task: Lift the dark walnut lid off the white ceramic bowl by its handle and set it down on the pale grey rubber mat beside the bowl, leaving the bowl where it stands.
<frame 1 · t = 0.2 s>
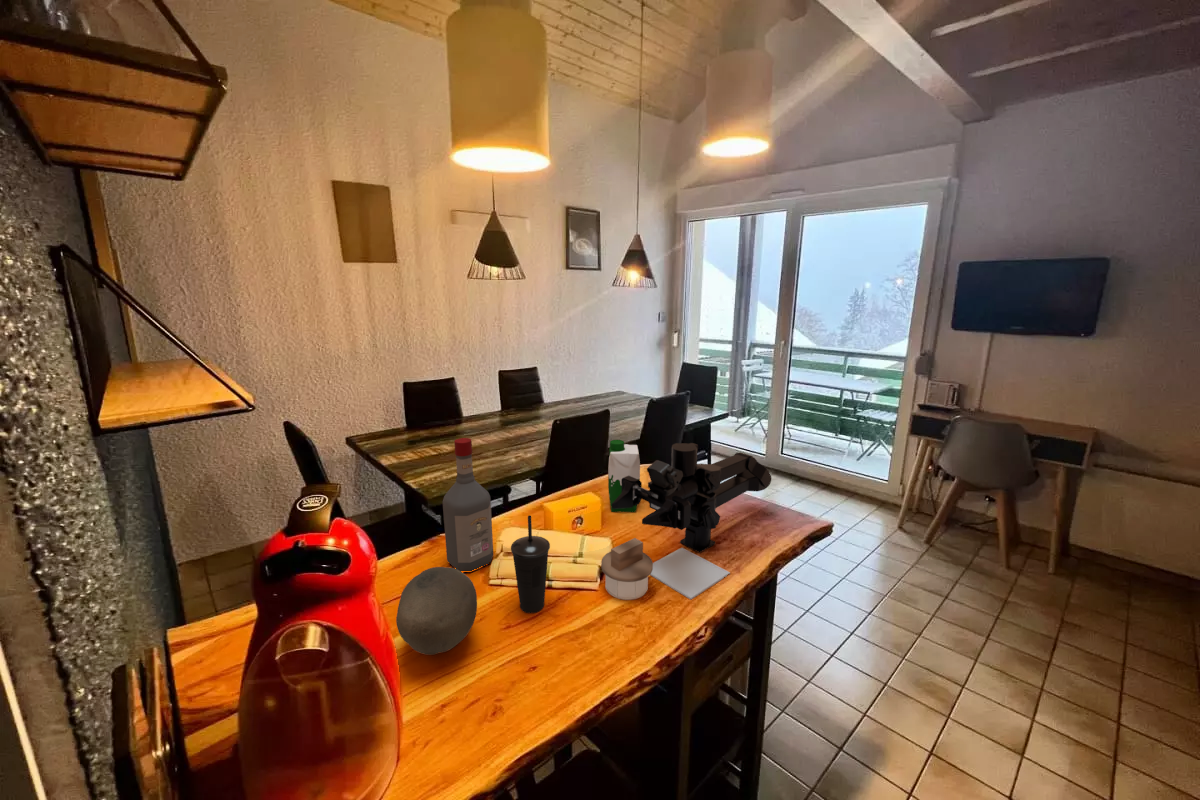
hand: (626, 513, 104), 17 cm above the counter, tool horizontal, fingers open, 9 cm apart
lid: (626, 566, 106), point 5 cm above the counter, touching bowl
drinking cup: (532, 606, 100), on the counter
bowl: (626, 587, 107), on the counter, touching lid
liquor: (470, 562, 116), on the counter
mat: (685, 572, 112), on the counter
dark grey round stone: (441, 648, 89), on the counter
milk carton: (623, 507, 144), on the counter
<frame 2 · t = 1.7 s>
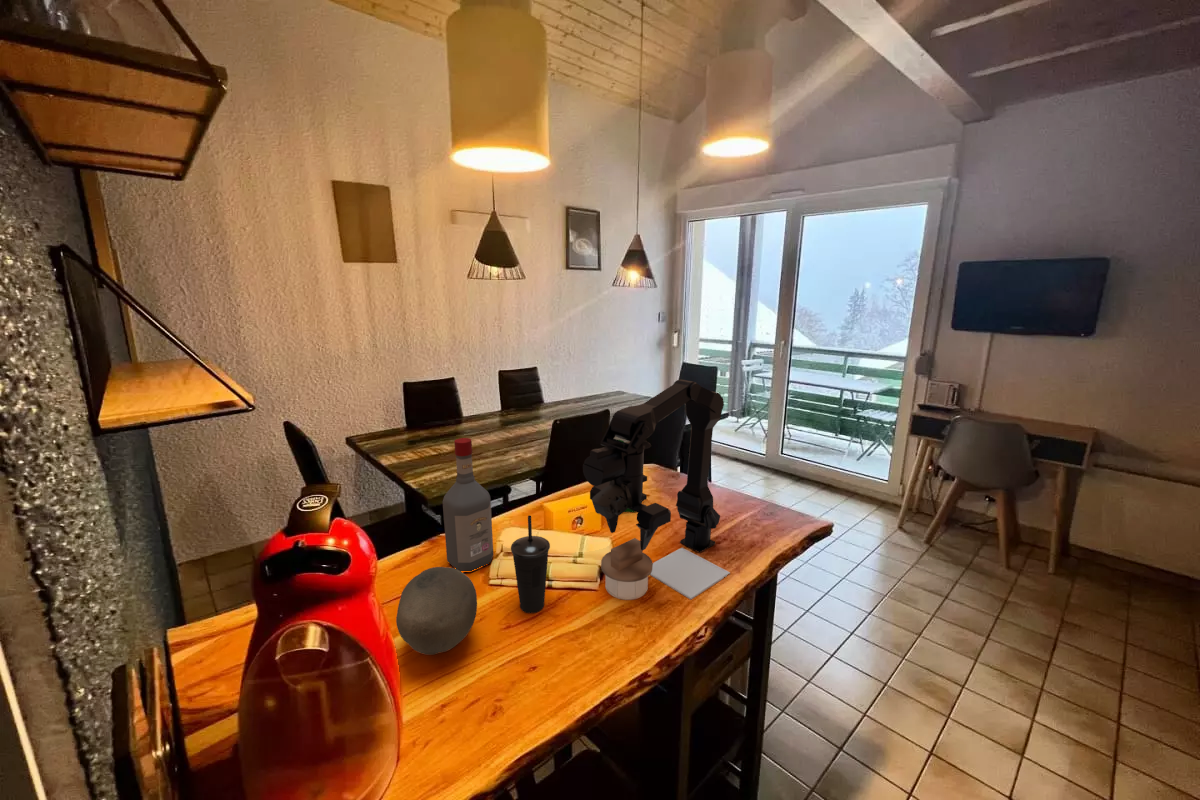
hand: (627, 540, 104), 11 cm above the counter, tool pointing down, fingers open, 9 cm apart
nothing on the counter moved.
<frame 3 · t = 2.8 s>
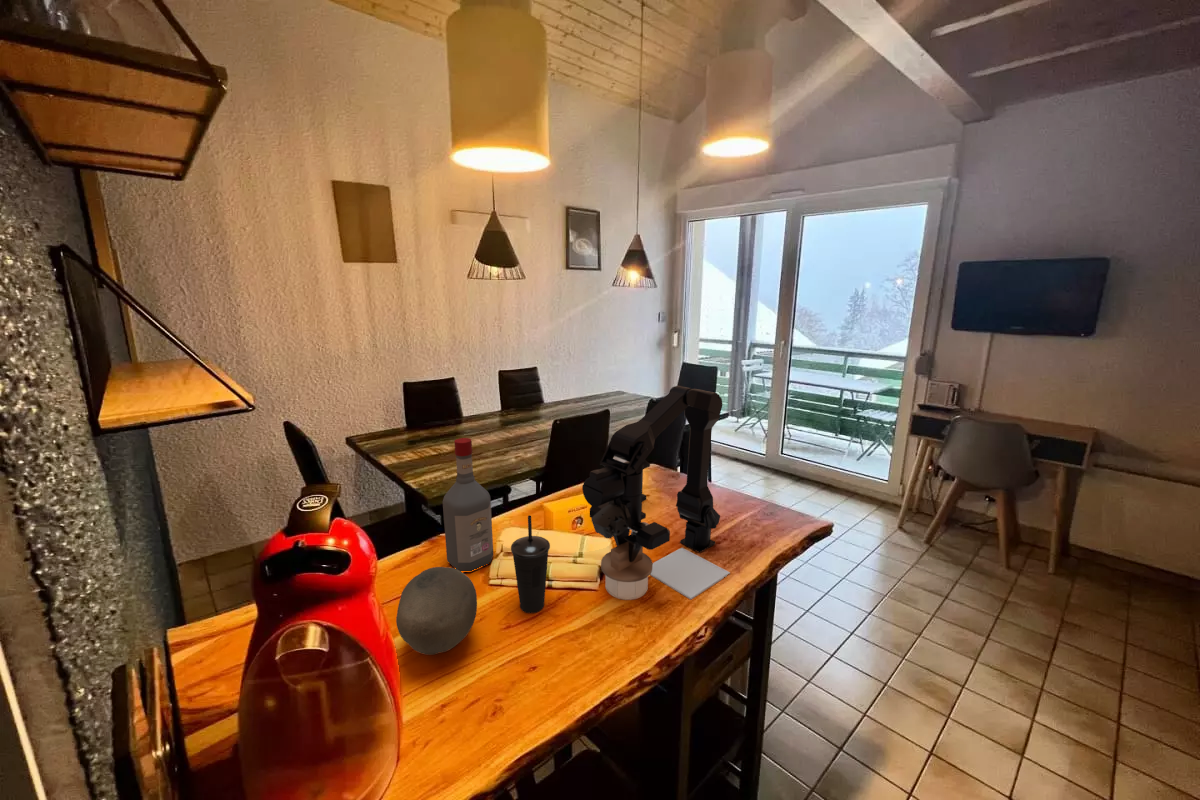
hand: (627, 558, 105), 7 cm above the counter, tool pointing down, fingers closed on lid, 2 cm apart
lid: (626, 566, 105), point 5 cm above the counter, touching bowl, gripper
everything else where it was.
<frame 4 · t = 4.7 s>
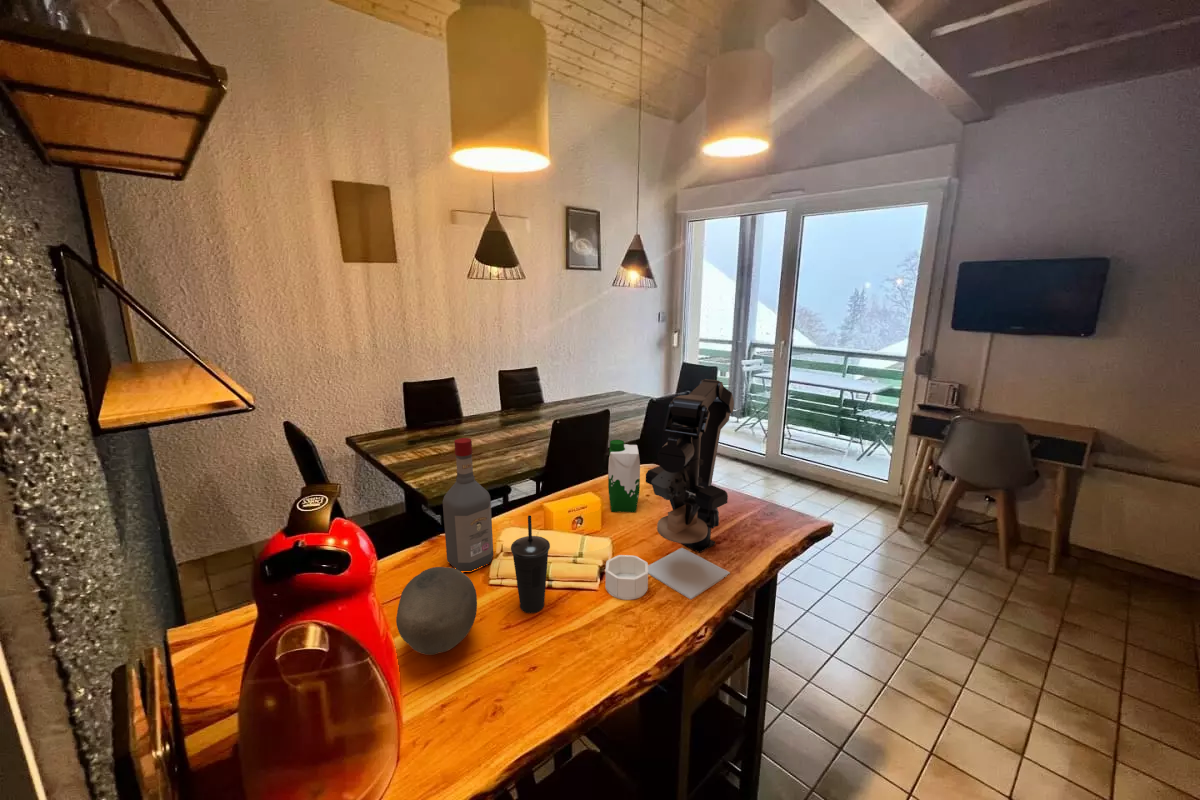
hand: (683, 521, 109), 13 cm above the counter, tool pointing down, fingers closed on lid, 2 cm apart
lid: (682, 530, 109), point 11 cm above the counter, touching gripper
bowl: (626, 587, 107), on the counter
everything else where it was.
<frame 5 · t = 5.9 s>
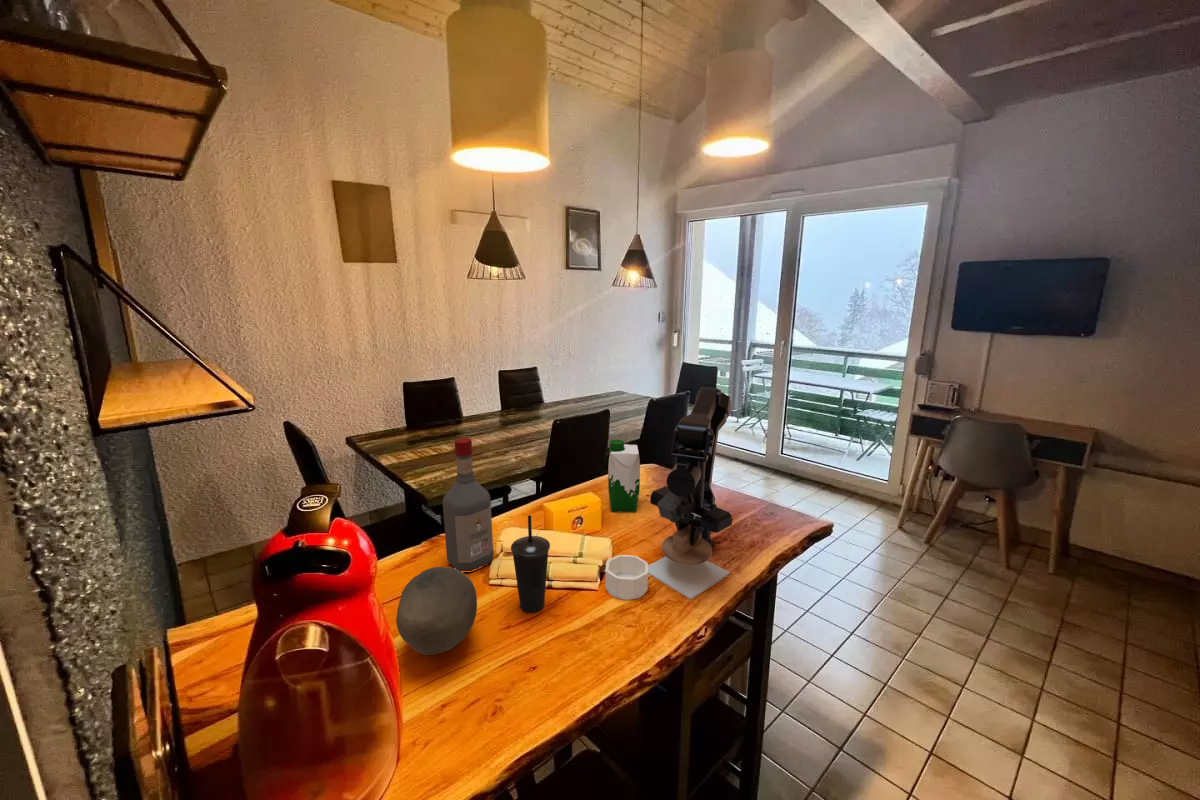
hand: (687, 542, 110), 7 cm above the counter, tool pointing down, fingers closed on lid, 2 cm apart
lid: (686, 550, 111), point 5 cm above the counter, touching gripper
everything else where it was.
when the fingers open (4 cm above the counter, at t = 6.8 s): lid drops 1 cm, resting on mat.
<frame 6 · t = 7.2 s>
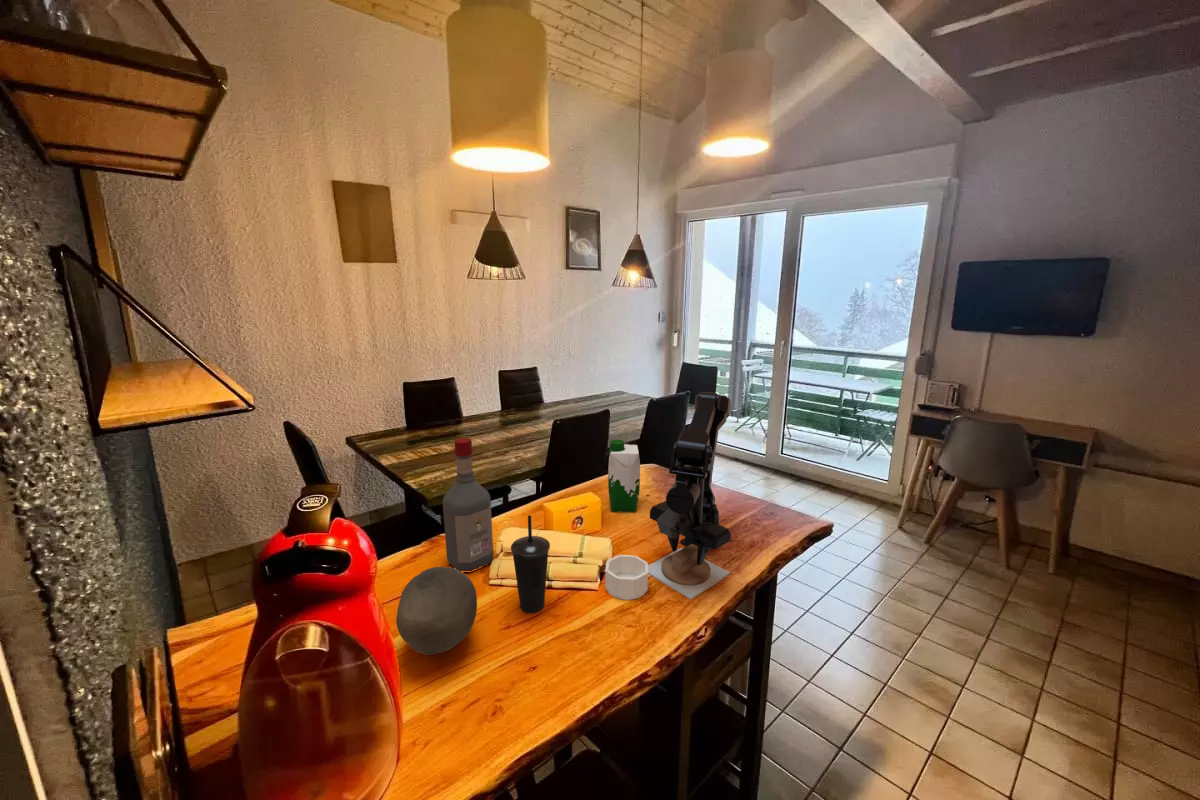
hand: (686, 557, 111), 4 cm above the counter, tool pointing down, fingers open, 7 cm apart
lid: (685, 570, 112), resting on mat
everything else where it was.
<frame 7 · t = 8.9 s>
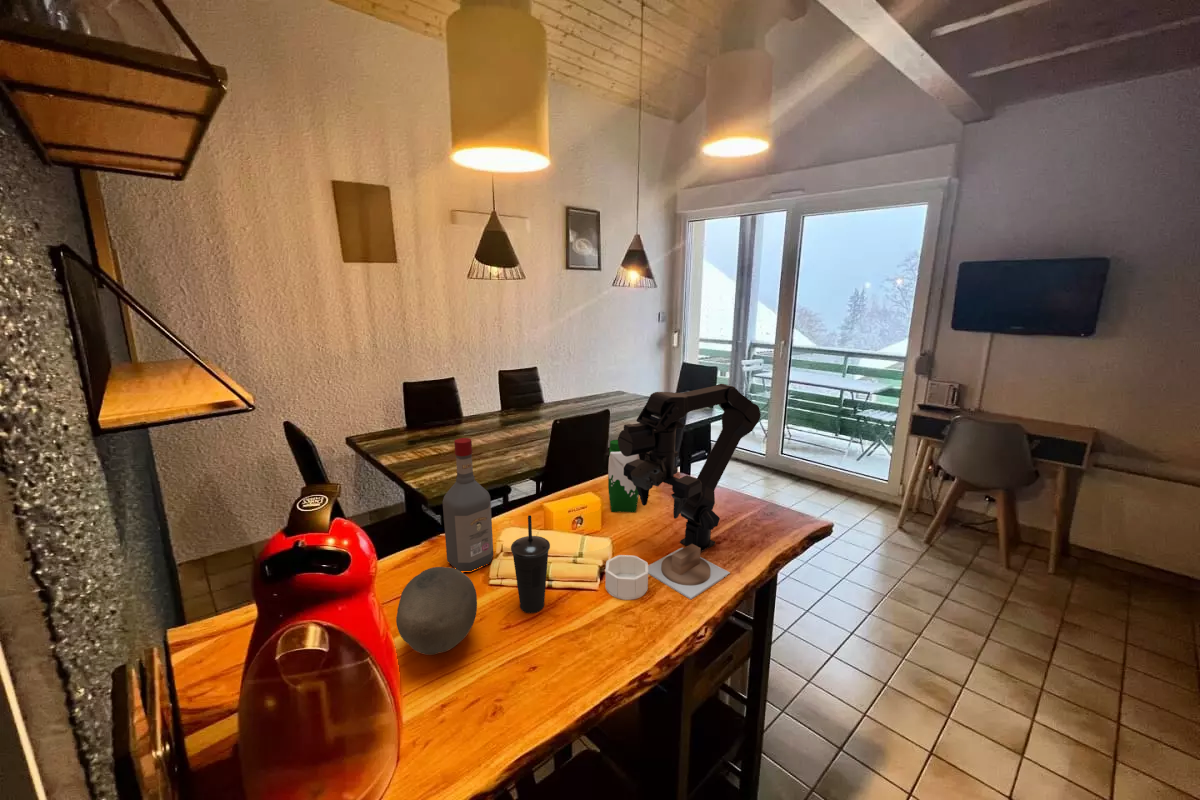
hand: (659, 511, 115), 12 cm above the counter, tool pointing down, fingers open, 9 cm apart
nothing on the counter moved.
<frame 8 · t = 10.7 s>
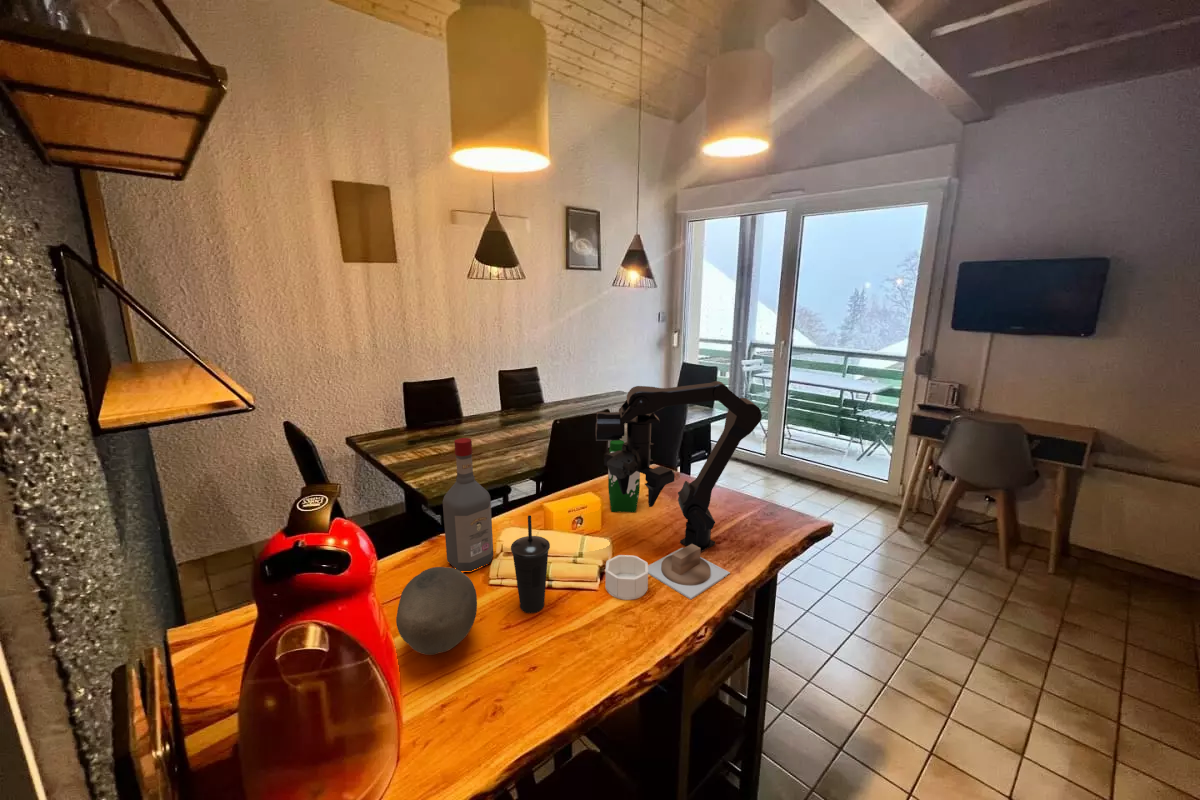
hand: (637, 500, 121), 12 cm above the counter, tool pointing down, fingers open, 9 cm apart
nothing on the counter moved.
at the end: lid inside the target area on the mat (0.1 cm from its centre), point 0.4 cm above the mat's base; lid touching mat; bowl moved 0.2 cm from its start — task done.
